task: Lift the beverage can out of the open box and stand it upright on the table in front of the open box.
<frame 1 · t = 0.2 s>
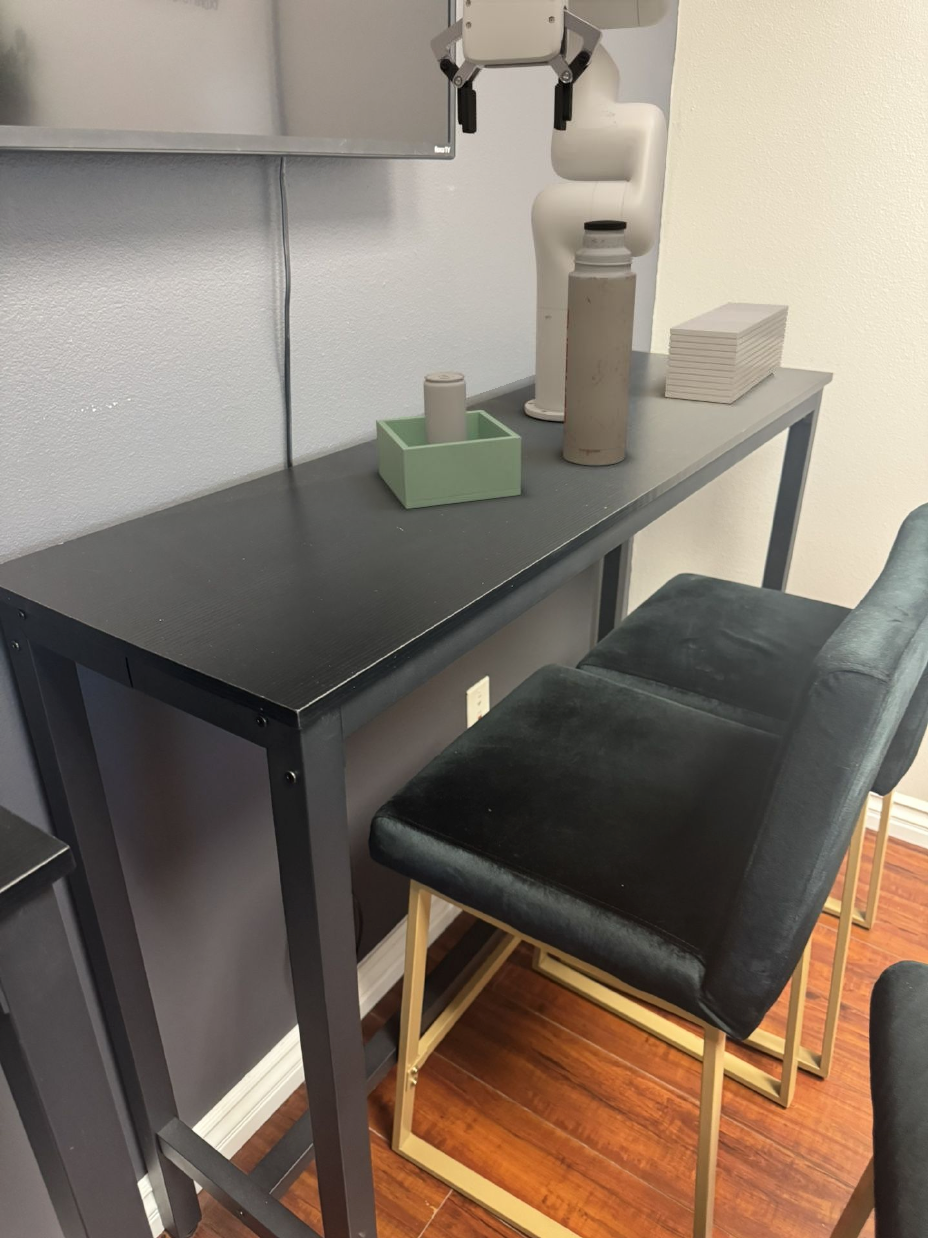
hand: (514, 131, 93), 37 cm above the table, tool pointing down, fingers open, 9 cm apart
open box: (447, 484, 107), on the table
stack of papers: (726, 382, 155), on the table
beverage can: (447, 479, 107), point 1 cm above the table, touching open box
thermos bottle: (593, 458, 116), on the table
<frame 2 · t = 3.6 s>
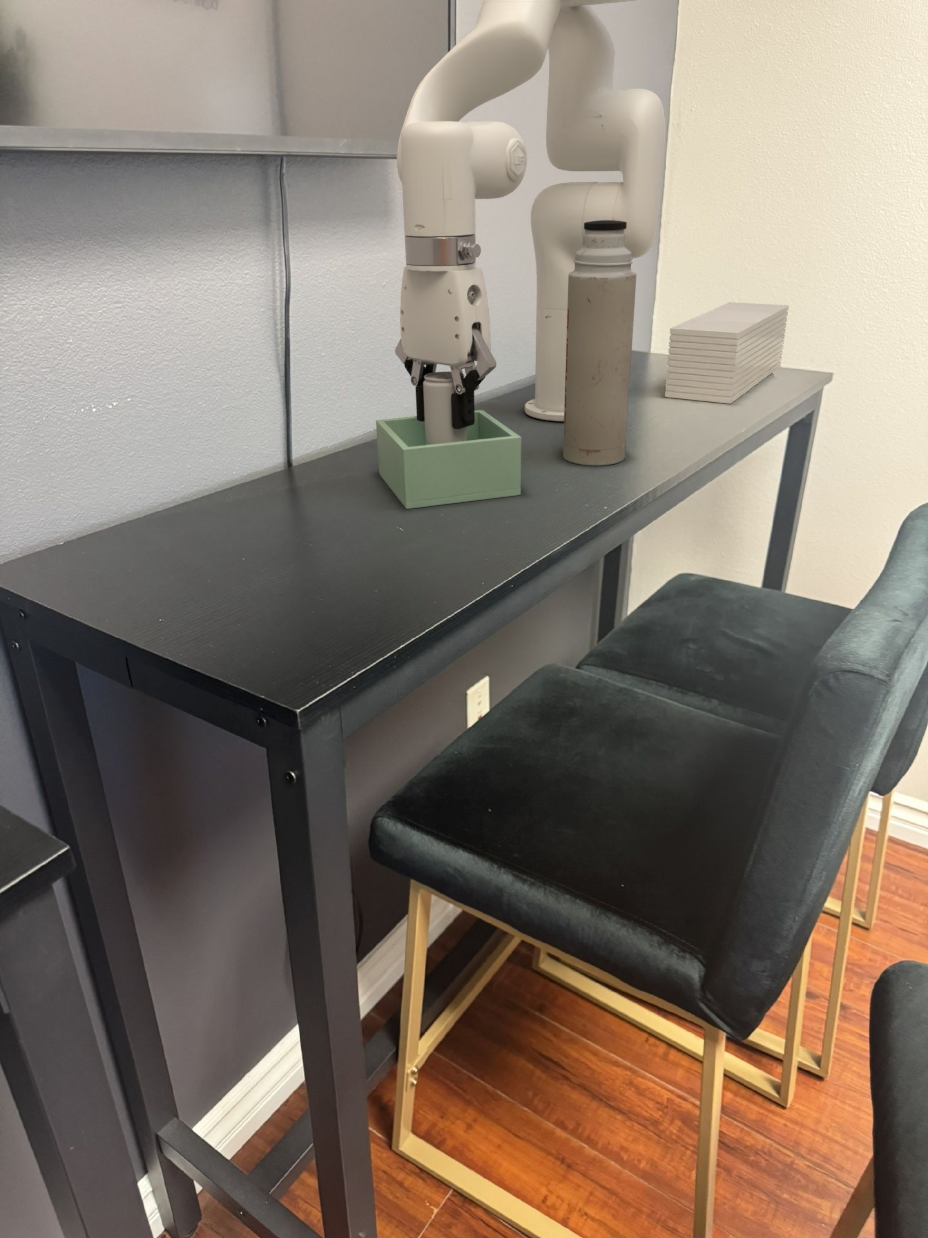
hand: (445, 421, 104), 8 cm above the table, tool pointing down, fingers closed on beverage can, 4 cm apart
beverage can: (447, 479, 107), point 1 cm above the table, touching open box, gripper
everything else where it was.
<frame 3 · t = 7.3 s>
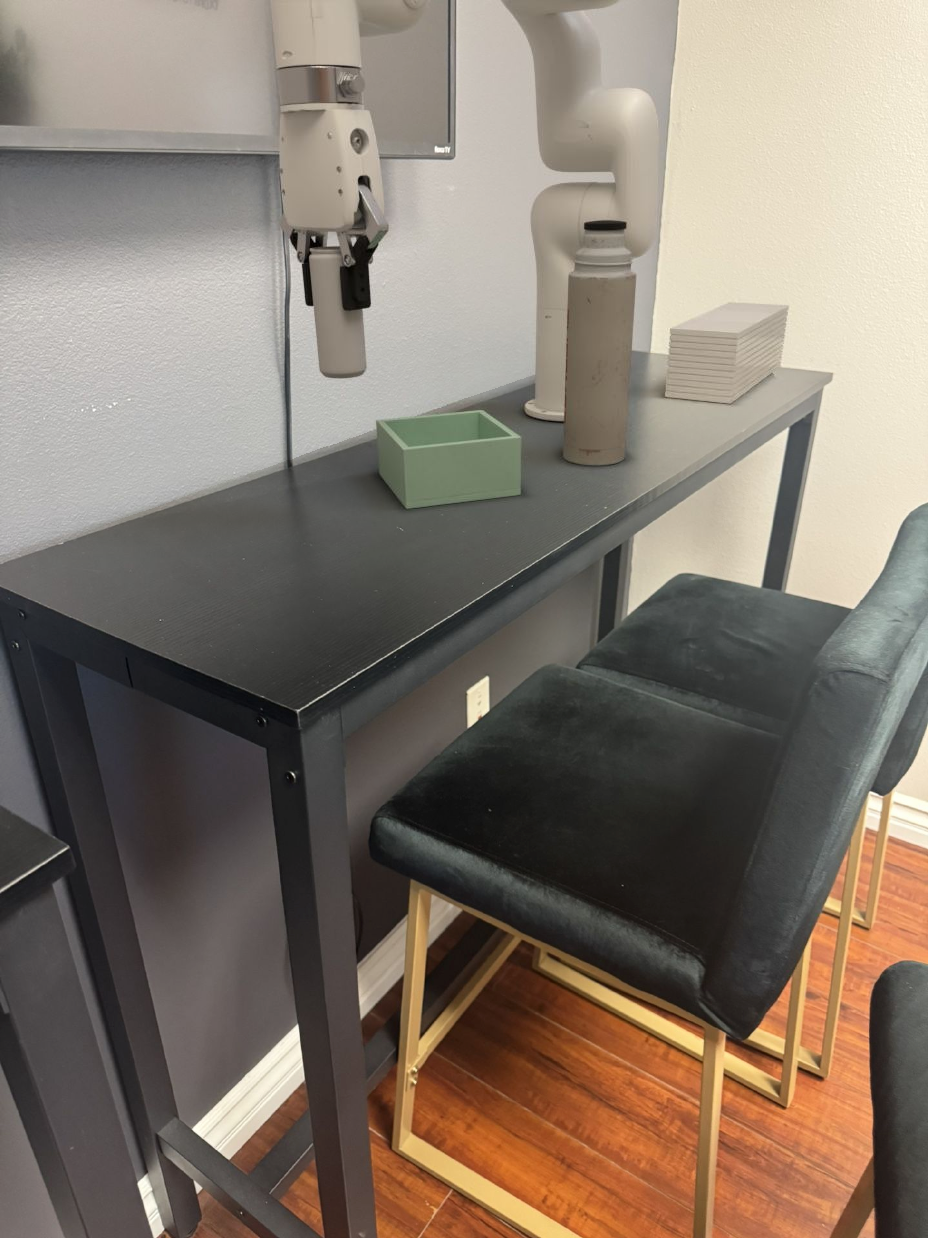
hand: (337, 304, 89), 22 cm above the table, tool pointing down, fingers closed on beverage can, 4 cm apart
beverage can: (343, 376, 92), point 15 cm above the table, touching gripper
everything else where it was.
when the fingers open (7 cm above the table, at t = 11.0 s): beverage can stays where it is, on the table.
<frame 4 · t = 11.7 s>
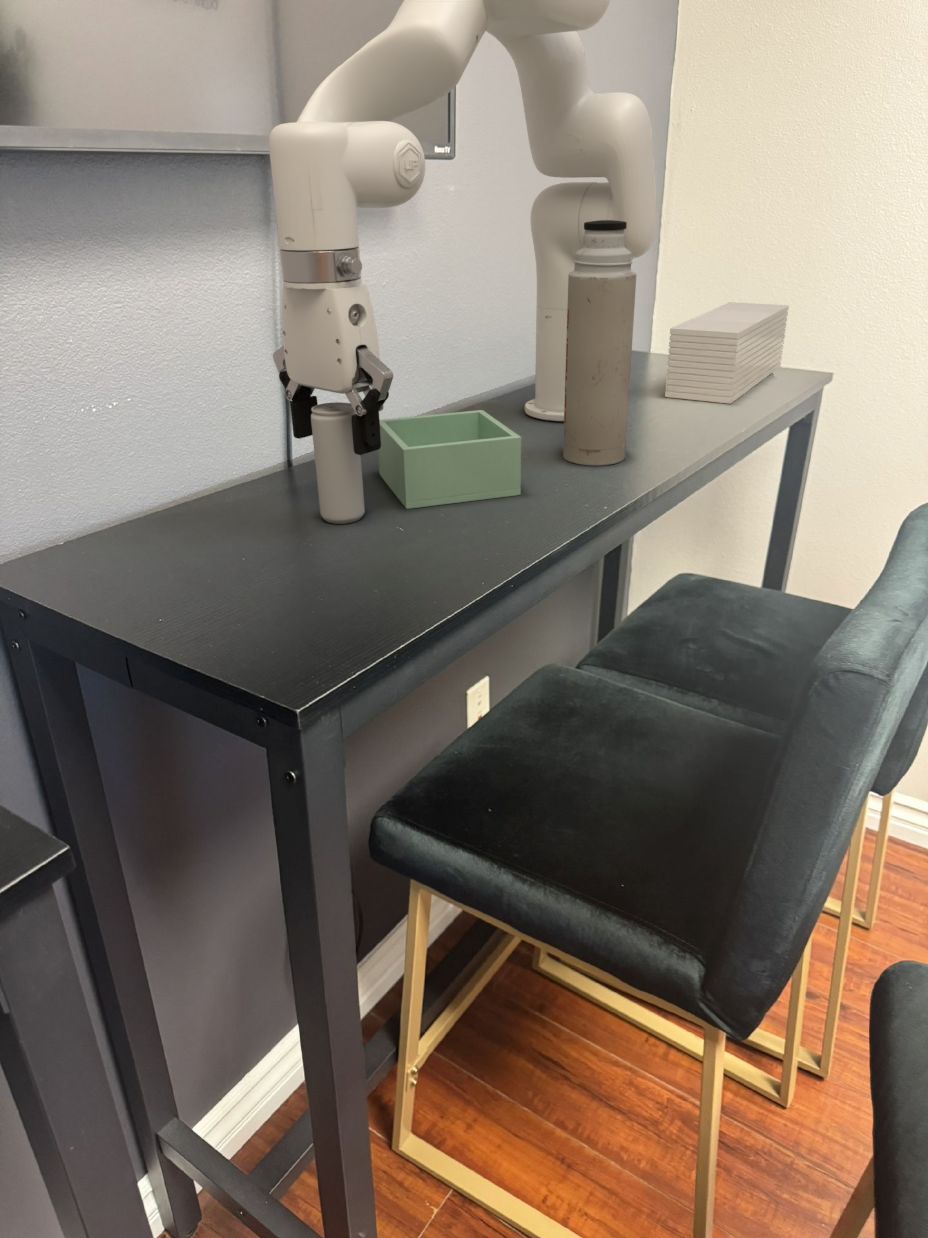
hand: (336, 443, 94), 8 cm above the table, tool pointing down, fingers open, 9 cm apart
beverage can: (343, 519, 98), on the table
everything else where it was.
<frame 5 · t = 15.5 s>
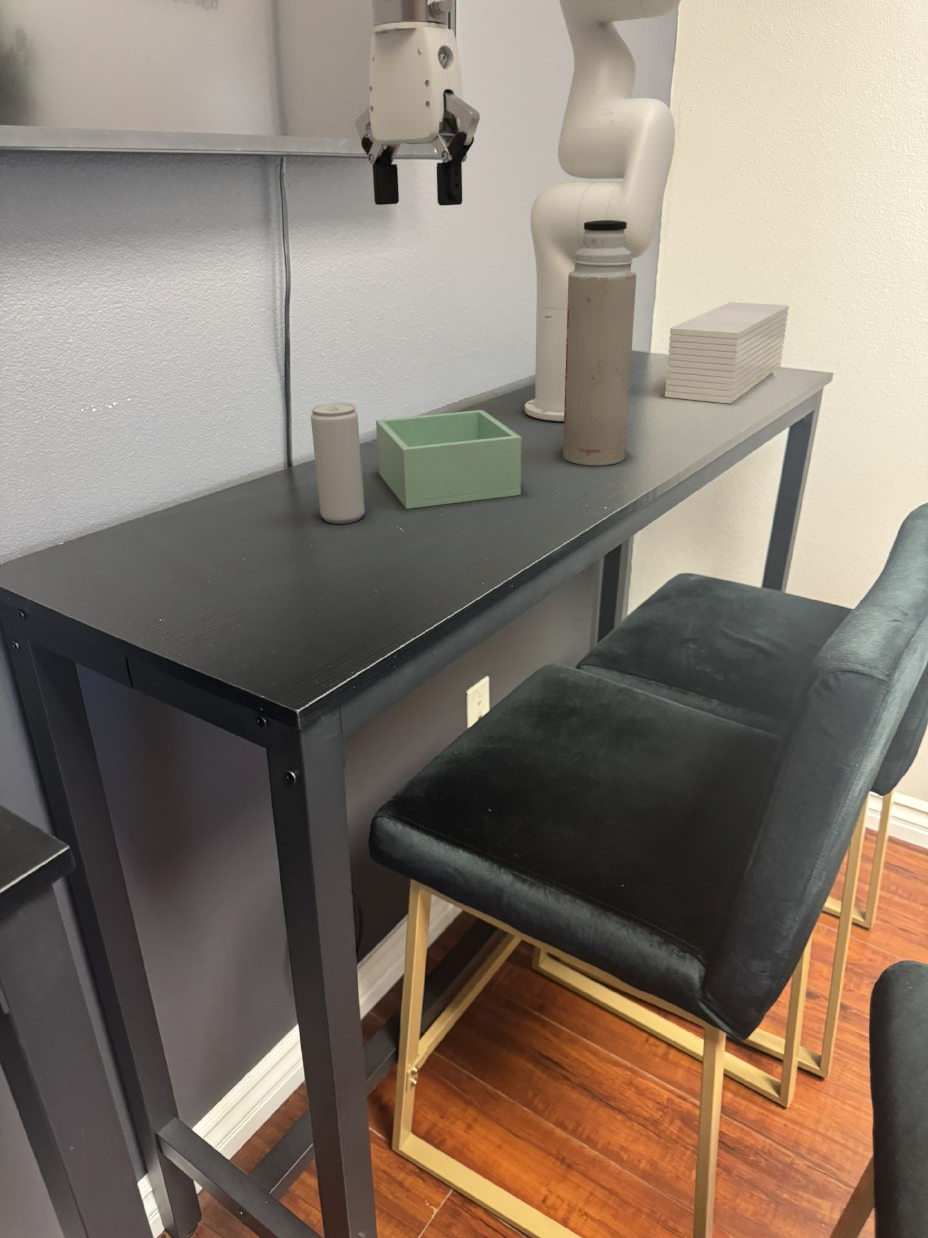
hand: (417, 204, 97), 30 cm above the table, tool pointing down, fingers open, 9 cm apart
nothing on the table moved.
at the end: beverage can inside the target area (0.1 cm from its centre), on the table; beverage can tilted 0°; the gripper is holding nothing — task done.
